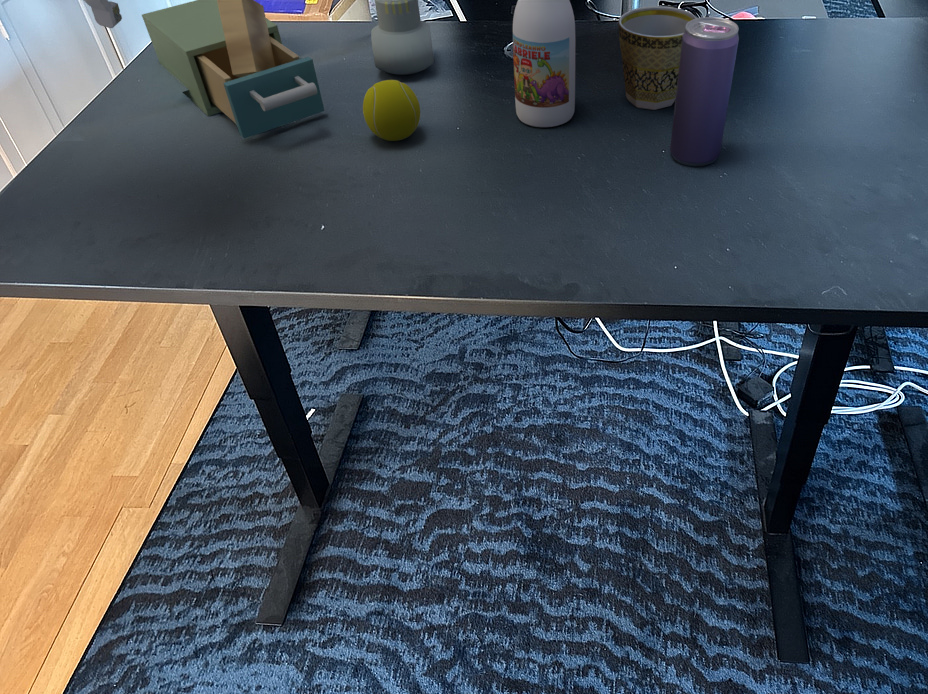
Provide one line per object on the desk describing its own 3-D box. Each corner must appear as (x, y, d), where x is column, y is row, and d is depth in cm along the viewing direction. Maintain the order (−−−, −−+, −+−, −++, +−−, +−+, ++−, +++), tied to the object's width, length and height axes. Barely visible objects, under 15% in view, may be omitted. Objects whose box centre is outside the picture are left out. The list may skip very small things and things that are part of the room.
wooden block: (256, 72, 94) (239, -9, 92) (232, 75, 95) (215, -6, 92) (278, 79, 102) (263, 5, 100) (256, 82, 102) (240, 8, 100)
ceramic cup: (679, 120, 99) (689, 40, 92) (605, 109, 102) (608, 31, 94) (700, 78, 107) (710, 1, 100) (631, 69, 110) (636, -6, 103)
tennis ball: (417, 120, 101) (410, 66, 96) (428, 145, 96) (421, 90, 91) (364, 128, 100) (354, 75, 95) (373, 154, 95) (362, 100, 90)
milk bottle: (528, 98, 105) (523, -68, 90) (582, 106, 103) (585, -63, 88) (507, 124, 100) (497, -47, 85) (563, 133, 98) (563, -41, 83)
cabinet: (293, 88, 109) (277, 25, 102) (208, 116, 103) (185, 51, 97) (245, 52, 118) (227, -9, 112) (164, 76, 113) (141, 14, 106)
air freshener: (436, 80, 109) (427, 6, 102) (377, 85, 108) (364, 11, 101) (432, 49, 117) (424, -23, 109) (377, 54, 116) (365, -18, 109)
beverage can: (714, 171, 90) (735, 40, 79) (664, 163, 92) (678, 34, 81) (723, 147, 94) (745, 19, 83) (675, 140, 96) (690, 13, 85)
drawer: (341, 123, 99) (330, 71, 94) (259, 153, 94) (242, 99, 90) (274, 72, 110) (260, 23, 105) (197, 97, 106) (179, 46, 101)
